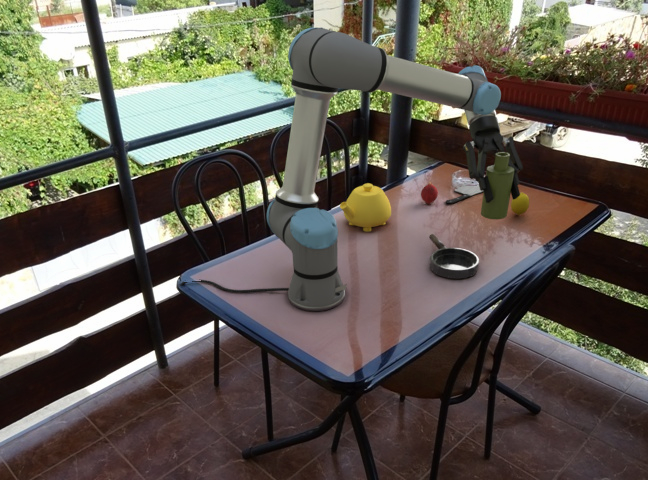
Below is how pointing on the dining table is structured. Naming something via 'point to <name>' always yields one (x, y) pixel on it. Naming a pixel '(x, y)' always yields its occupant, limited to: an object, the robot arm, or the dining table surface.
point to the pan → (454, 263)
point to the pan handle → (436, 241)
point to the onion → (429, 193)
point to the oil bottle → (498, 187)
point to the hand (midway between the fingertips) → (503, 198)
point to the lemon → (520, 204)
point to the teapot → (367, 207)
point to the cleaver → (465, 193)
